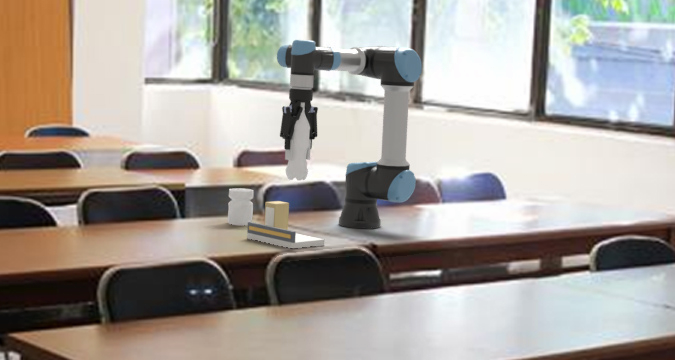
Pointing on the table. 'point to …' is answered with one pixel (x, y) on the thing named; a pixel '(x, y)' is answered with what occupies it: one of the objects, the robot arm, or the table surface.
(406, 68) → the robot arm
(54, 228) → the table surface
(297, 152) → the water bottle
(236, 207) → the white jar
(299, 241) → the shelf board
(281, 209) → the tea box
